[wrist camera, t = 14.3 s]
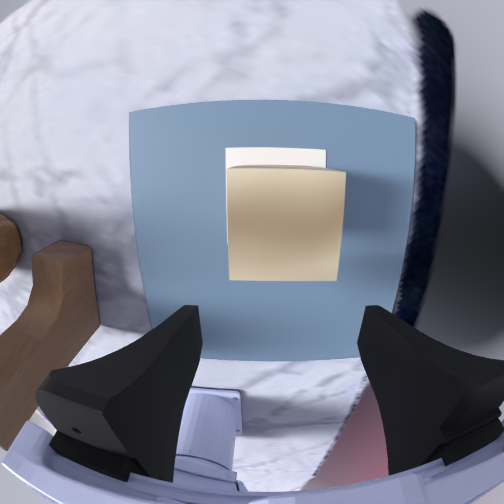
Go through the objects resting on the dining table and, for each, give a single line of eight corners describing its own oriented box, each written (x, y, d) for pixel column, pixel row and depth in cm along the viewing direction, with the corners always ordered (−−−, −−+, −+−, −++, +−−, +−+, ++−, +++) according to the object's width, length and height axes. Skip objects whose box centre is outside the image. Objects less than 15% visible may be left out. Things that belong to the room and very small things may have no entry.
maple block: (317, 246, 15) (336, 280, 11) (238, 245, 15) (229, 280, 11) (321, 167, 14) (345, 172, 10) (237, 165, 14) (226, 168, 10)
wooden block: (59, 238, 21) (-81, 333, 4) (93, 245, 22) (-59, 364, 5) (70, 315, 24) (-24, 425, 8) (102, 325, 25) (10, 455, 8)
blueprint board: (377, 351, 24) (379, 355, 24) (160, 350, 25) (158, 354, 24) (411, 118, 17) (415, 118, 16) (132, 113, 18) (128, 112, 17)
